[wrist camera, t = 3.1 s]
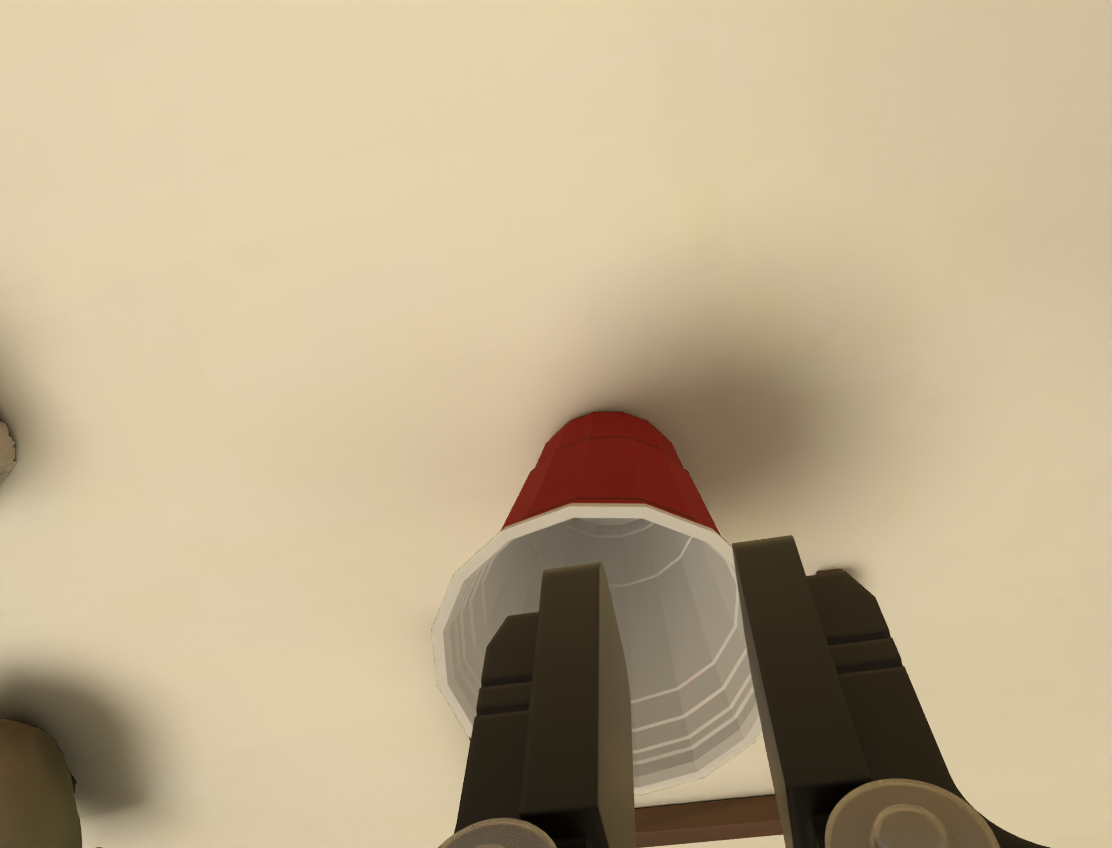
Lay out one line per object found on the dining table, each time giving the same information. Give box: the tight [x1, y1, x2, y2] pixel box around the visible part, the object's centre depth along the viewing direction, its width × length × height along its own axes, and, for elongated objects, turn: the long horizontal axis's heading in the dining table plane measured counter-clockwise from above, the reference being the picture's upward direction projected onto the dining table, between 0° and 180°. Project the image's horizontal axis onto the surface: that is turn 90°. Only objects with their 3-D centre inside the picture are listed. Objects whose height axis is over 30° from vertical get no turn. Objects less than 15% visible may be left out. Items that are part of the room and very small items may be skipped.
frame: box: [468, 570, 843, 848], centre depth 43 cm, size 15×18×2 cm
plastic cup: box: [431, 412, 762, 795], centre depth 32 cm, size 11×11×12 cm
